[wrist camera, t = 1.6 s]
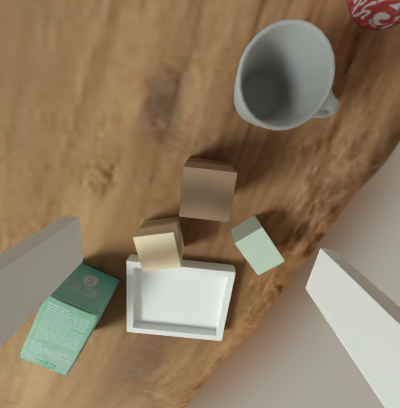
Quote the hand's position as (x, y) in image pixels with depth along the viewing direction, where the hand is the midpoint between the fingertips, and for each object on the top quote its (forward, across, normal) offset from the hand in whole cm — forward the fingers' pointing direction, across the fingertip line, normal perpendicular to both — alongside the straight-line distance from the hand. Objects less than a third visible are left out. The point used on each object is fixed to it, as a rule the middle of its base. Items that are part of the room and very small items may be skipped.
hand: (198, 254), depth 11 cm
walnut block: (+17, 0, +1) cm, 17 cm away
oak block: (+17, -4, -8) cm, 19 cm away
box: (+17, -16, -22) cm, 32 cm away
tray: (+17, -1, -19) cm, 26 cm away
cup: (+17, +6, +11) cm, 21 cm away
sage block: (+17, +9, -7) cm, 20 cm away
